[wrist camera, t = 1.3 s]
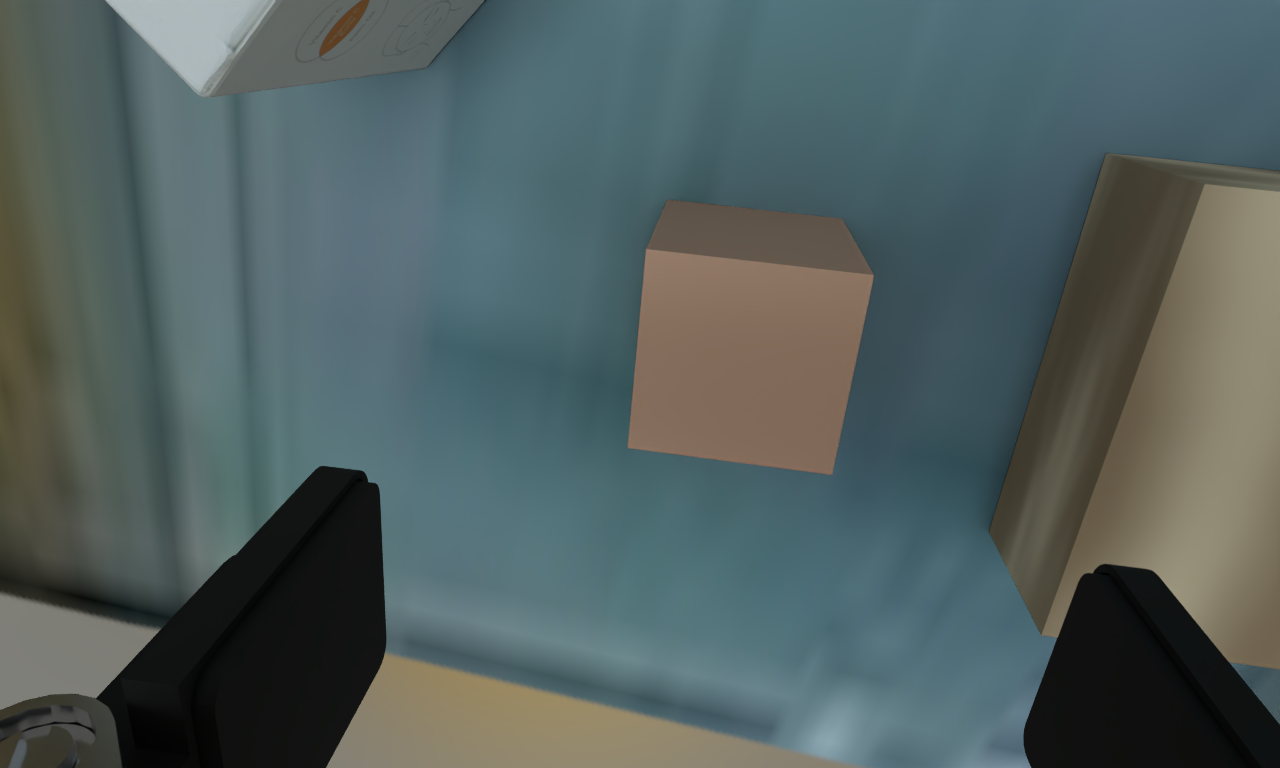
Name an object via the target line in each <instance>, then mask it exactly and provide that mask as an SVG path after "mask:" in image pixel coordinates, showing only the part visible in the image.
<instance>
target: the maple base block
mask: <svg viewBox="0 0 1280 768" xmlns="http://www.w3.org/2000/svg"><path fill="white" fill-rule="evenodd" d="M989 533H990V535H991V537H992V539H993V541H994V543H995V545H996V547H997V549H998V551H999V553H1000V555H1001V557H1002V559H1003V561H1004V563H1005V565H1006V567H1007V569H1008V571H1009V573H1010V575H1011V577H1012V579H1013V581H1014V583H1015V585H1016V587H1017V589H1018V590H1019V592H1020V594H1021V596H1022V598H1023V600H1024V602H1025V604H1026V606H1027V608H1028V610H1029V612H1030V614H1031V616H1032V618H1033V620H1034V622H1035V624H1036V626H1037V628H1038V630H1039V632H1040V634H1041V635H1042V636H1049V637H1056V638H1058V635H1059V633H1060V630H1061V627H1062V625H1063V622H1064V619H1065V617H1066V614H1067V611H1068V608H1069V606H1070V603H1071V600H1072V598H1073V595H1074V592H1075V590H1076V587H1077V584H1078V582H1079V580H1080V578H1081V577H1082V576H1083V575H1084V574H1086V573H1093V572H1094V570H1095V569H1096V568H1097V567H1098V566H1099V565H1102V564H1112V565H1120V566H1128V567H1136V568H1144V569H1149V570H1153V571H1154V572H1155V573H1156V574H1157V575H1158V576H1159V577H1160V578H1161V579H1162V581H1163V582H1164V583H1165V584H1166V586H1167V587H1168V588H1169V589H1170V591H1171V592H1172V593H1173V594H1174V595H1175V597H1176V598H1177V599H1178V600H1179V602H1180V603H1181V604H1182V605H1183V606H1184V608H1185V609H1186V610H1187V611H1188V613H1189V614H1190V615H1191V616H1192V618H1193V619H1194V620H1195V621H1196V622H1197V624H1198V625H1199V626H1200V627H1201V629H1202V630H1203V631H1204V632H1205V634H1206V635H1207V636H1208V637H1209V638H1210V640H1211V641H1212V642H1213V643H1214V645H1215V646H1216V647H1217V648H1218V649H1219V651H1220V652H1221V653H1222V654H1223V656H1224V657H1225V658H1226V659H1227V661H1228V662H1232V663H1239V664H1246V665H1253V666H1260V667H1267V668H1274V669H1280V171H1276V170H1266V169H1257V168H1247V167H1237V166H1227V165H1218V164H1208V163H1198V162H1189V161H1179V160H1169V159H1160V158H1150V157H1140V156H1131V155H1121V154H1111V153H1106V155H1105V158H1104V162H1103V165H1102V168H1101V171H1100V175H1099V178H1098V181H1097V184H1096V187H1095V191H1094V194H1093V197H1092V200H1091V204H1090V207H1089V210H1088V213H1087V217H1086V220H1085V223H1084V226H1083V229H1082V233H1081V236H1080V239H1079V242H1078V246H1077V249H1076V252H1075V255H1074V258H1073V262H1072V265H1071V268H1070V271H1069V275H1068V278H1067V281H1066V284H1065V288H1064V291H1063V294H1062V297H1061V300H1060V304H1059V307H1058V310H1057V313H1056V317H1055V320H1054V323H1053V326H1052V330H1051V333H1050V336H1049V339H1048V342H1047V346H1046V349H1045V352H1044V355H1043V359H1042V362H1041V365H1040V368H1039V371H1038V375H1037V378H1036V381H1035V384H1034V388H1033V391H1032V394H1031V397H1030V401H1029V404H1028V407H1027V410H1026V413H1025V417H1024V420H1023V423H1022V426H1021V430H1020V433H1019V436H1018V439H1017V443H1016V446H1015V449H1014V452H1013V455H1012V459H1011V462H1010V465H1009V468H1008V472H1007V475H1006V478H1005V481H1004V484H1003V488H1002V491H1001V494H1000V497H999V501H998V504H997V507H996V510H995V514H994V517H993V520H992V523H991V526H990V530H989Z"/></svg>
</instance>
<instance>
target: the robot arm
mask: <svg viewBox="0 0 1280 768" xmlns="http://www.w3.org/2000/svg"><path fill="white" fill-rule="evenodd" d="M385 648H386V620H385V598H384V576H383V553H382V531H381V509H380V492H379V487H378V485H377V484H376V483H370V482H368V479H367V476H366V474H365V473H364V472H363V471H360V470H352V469H344V468H336V467H328V466H320V467H318V468H317V469H316V470H315V471H314V472H313V473H312V474H311V475H310V476H309V477H308V478H307V479H306V480H305V481H304V482H303V484H302V485H301V486H300V487H299V488H298V489H297V490H296V491H295V492H294V493H293V494H292V495H291V496H290V497H289V498H288V500H287V501H286V502H285V503H284V504H283V505H282V506H281V507H280V508H279V509H278V510H277V511H276V512H275V513H274V515H273V516H272V517H271V518H270V519H269V520H268V521H267V522H266V523H265V524H264V525H263V526H262V527H261V528H260V530H259V531H258V532H257V533H256V534H255V535H254V536H253V537H252V538H251V539H250V540H249V541H248V542H247V543H246V545H245V546H244V547H243V548H242V549H241V550H240V551H239V552H238V553H237V554H236V555H234V556H232V557H231V558H229V559H228V560H227V561H226V562H224V563H223V564H222V565H221V566H220V567H219V569H218V570H217V571H216V572H215V573H214V574H213V575H212V576H211V577H210V578H209V579H208V580H207V581H206V582H205V583H204V584H203V585H202V587H201V588H200V589H199V590H198V591H197V592H196V593H195V594H194V595H193V596H192V597H191V598H190V599H189V600H188V601H187V602H186V604H185V605H184V606H183V607H182V608H181V609H180V610H179V611H178V612H177V613H176V614H175V615H174V616H173V617H172V618H171V619H170V620H169V622H168V623H167V624H166V625H165V626H164V627H163V628H162V629H161V630H160V631H159V632H158V633H157V634H156V636H154V637H153V639H152V640H151V641H150V642H149V643H148V644H147V645H146V646H145V647H144V648H143V649H142V650H141V651H140V652H139V653H138V654H137V655H136V657H135V658H134V659H133V660H132V661H131V662H130V663H129V664H128V665H127V666H126V667H125V668H124V669H123V671H121V673H120V674H119V675H118V676H117V677H116V678H115V679H114V680H113V681H112V682H111V683H110V684H109V685H108V686H107V687H106V688H105V689H104V691H103V692H102V693H101V694H100V695H99V696H98V697H97V698H92V697H88V696H82V695H79V694H57V695H56V694H55V695H48V696H43V697H38V698H34V699H29V700H25V701H22V702H20V703H17V704H14V705H12V706H10V707H7V708H4V709H2V710H0V768H326V767H327V765H328V763H329V761H330V759H331V757H332V755H333V754H334V752H335V750H336V748H337V746H338V744H339V743H340V741H341V739H342V737H343V735H344V733H345V731H346V730H347V728H348V726H349V724H350V722H351V720H352V718H353V716H354V714H355V713H356V711H357V709H358V707H359V705H360V704H361V701H362V700H363V698H364V696H365V694H366V692H367V691H368V689H369V687H370V685H371V683H372V681H373V679H374V677H375V676H376V674H377V672H378V670H379V668H380V666H381V664H382V660H383V658H384V653H385ZM1024 748H1025V753H1026V756H1027V759H1028V761H1029V763H1030V766H1031V768H1280V724H1279V723H1278V722H1277V721H1276V719H1275V718H1274V717H1273V716H1272V715H1271V713H1270V712H1269V711H1268V710H1267V708H1266V707H1265V706H1264V705H1263V704H1262V702H1261V701H1260V700H1259V699H1258V697H1257V696H1256V695H1255V694H1254V692H1253V691H1252V690H1251V689H1250V688H1249V686H1248V685H1247V684H1246V683H1245V681H1244V680H1243V679H1242V678H1241V676H1240V675H1239V674H1238V673H1237V672H1236V670H1235V669H1234V668H1233V667H1232V665H1231V664H1230V663H1229V662H1228V661H1227V659H1226V658H1225V657H1224V656H1223V654H1222V653H1221V652H1220V651H1219V649H1218V648H1217V647H1216V646H1215V645H1214V643H1213V642H1212V641H1211V640H1210V638H1209V637H1208V636H1207V635H1206V634H1205V632H1204V631H1203V630H1202V629H1201V627H1200V626H1199V625H1198V624H1197V622H1196V621H1195V620H1194V619H1193V618H1192V616H1191V615H1190V614H1189V613H1188V611H1187V610H1186V609H1185V608H1184V606H1183V605H1182V604H1181V603H1180V602H1179V600H1178V599H1177V598H1176V597H1175V595H1174V594H1173V593H1172V592H1171V591H1170V589H1169V588H1168V587H1167V586H1166V584H1165V583H1164V582H1163V581H1162V579H1161V578H1160V577H1159V576H1158V575H1157V574H1156V573H1155V572H1154V571H1153V570H1149V569H1144V568H1136V567H1128V566H1120V565H1112V564H1102V565H1099V566H1098V567H1097V568H1096V569H1095V570H1094V572H1093V573H1086V574H1084V575H1083V576H1082V577H1081V578H1080V580H1079V582H1078V584H1077V587H1076V590H1075V592H1074V595H1073V598H1072V600H1071V603H1070V606H1069V608H1068V611H1067V614H1066V617H1065V619H1064V622H1063V625H1062V627H1061V630H1060V633H1059V635H1058V638H1057V641H1056V643H1055V646H1054V649H1053V652H1052V654H1051V657H1050V660H1049V662H1048V665H1047V668H1046V670H1045V673H1044V676H1043V678H1042V681H1041V684H1040V686H1039V689H1038V692H1037V695H1036V697H1035V700H1034V703H1033V705H1032V708H1031V711H1030V713H1029V716H1028V719H1027V721H1026V724H1025V728H1024Z"/></svg>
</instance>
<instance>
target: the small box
mask: <svg viewBox="0 0 1280 768" xmlns="http://www.w3.org/2000/svg"><path fill="white" fill-rule="evenodd" d="M105 1H106V2H107V3H108V4H109V5H110V6H111V7H112V8H113V9H114V10H115V11H116V12H117V13H118V14H119V15H120V16H121V17H122V18H123V19H124V20H125V21H126V22H127V23H128V24H129V25H130V26H131V27H132V28H133V29H134V30H135V31H136V32H137V33H138V34H139V35H140V36H141V37H142V38H143V39H144V40H145V41H146V42H147V43H148V44H149V45H150V46H151V47H152V49H153V50H154V51H155V52H156V53H157V54H158V55H159V56H160V57H161V58H162V59H163V60H164V61H165V62H166V63H167V64H168V65H169V66H170V67H171V68H172V69H173V70H174V71H175V72H176V73H177V74H178V75H179V76H180V77H181V78H182V79H183V80H184V81H185V82H186V83H187V84H188V85H189V86H190V87H191V88H192V89H193V90H194V91H195V92H196V93H197V94H199V95H200V96H203V97H206V98H207V97H216V96H224V95H231V94H238V93H245V92H255V91H261V90H270V89H277V88H285V87H292V86H300V85H308V84H315V83H323V82H330V81H336V80H344V79H351V78H359V77H366V76H372V75H381V74H388V73H394V72H402V71H410V70H417V69H424V68H426V67H427V66H428V65H429V64H430V63H431V62H432V60H433V59H434V58H435V57H436V56H437V54H438V53H439V52H440V51H441V50H442V49H443V47H444V46H445V45H446V44H447V43H448V42H449V41H450V40H451V38H452V37H453V36H454V35H455V34H456V33H457V32H458V30H459V29H460V28H461V27H462V26H463V25H464V24H465V22H466V21H467V20H468V19H469V18H470V17H471V16H472V14H473V13H474V12H475V11H476V10H477V9H478V8H479V7H480V5H481V4H482V3H483V2H484V1H485V0H105Z"/></svg>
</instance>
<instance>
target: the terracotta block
mask: <svg viewBox="0 0 1280 768" xmlns="http://www.w3.org/2000/svg"><path fill="white" fill-rule="evenodd" d="M873 279H874V274H873V272H872V270H871V269H870V267H869V265H868V263H867V262H866V260H865V258H864V256H863V255H862V253H861V251H860V249H859V247H858V246H857V244H856V242H855V240H854V239H853V237H852V235H851V233H850V232H849V230H848V228H847V226H846V225H845V223H844V221H843V219H840V218H831V217H822V216H813V215H804V214H795V213H786V212H777V211H768V210H759V209H750V208H741V207H732V206H722V205H713V204H704V203H695V202H686V201H677V200H667V202H666V204H665V206H664V209H663V211H662V213H661V216H660V218H659V220H658V223H657V225H656V227H655V230H654V232H653V234H652V237H651V239H650V241H649V243H648V246H647V248H646V255H645V266H644V277H643V288H642V298H641V309H640V320H639V331H638V341H637V352H636V363H635V374H634V385H633V395H632V406H631V417H630V428H629V438H628V448H631V449H639V450H646V451H654V452H662V453H669V454H677V455H684V456H692V457H700V458H707V459H715V460H722V461H730V462H738V463H745V464H753V465H761V466H768V467H776V468H783V469H791V470H799V471H806V472H814V473H821V474H829V475H832V473H833V468H834V464H835V459H836V454H837V450H838V445H839V440H840V435H841V431H842V426H843V421H844V416H845V412H846V407H847V402H848V397H849V393H850V388H851V383H852V378H853V374H854V369H855V364H856V359H857V355H858V350H859V345H860V340H861V336H862V331H863V326H864V321H865V317H866V312H867V307H868V302H869V298H870V293H871V288H872V283H873Z"/></svg>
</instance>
